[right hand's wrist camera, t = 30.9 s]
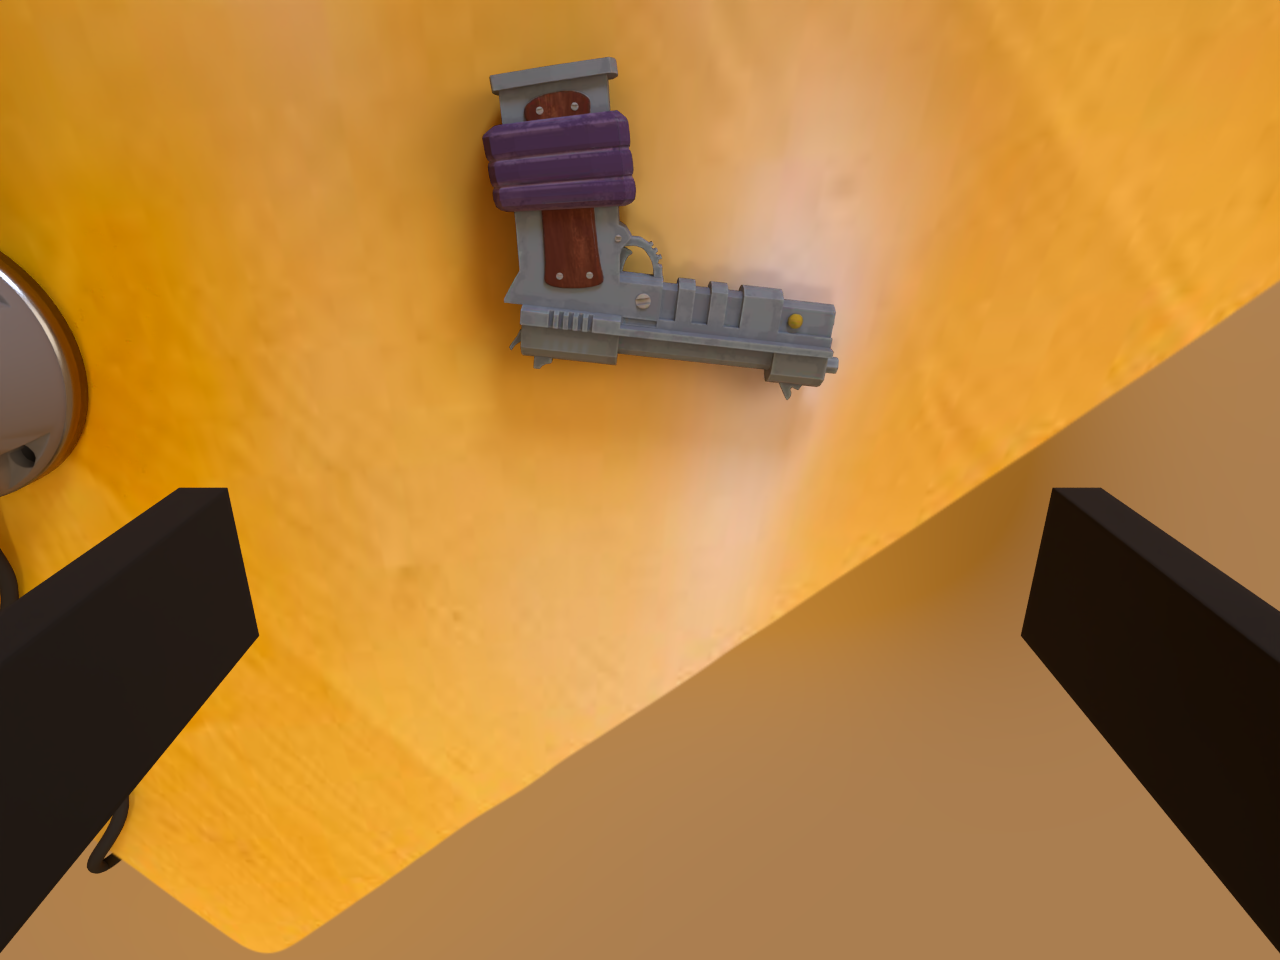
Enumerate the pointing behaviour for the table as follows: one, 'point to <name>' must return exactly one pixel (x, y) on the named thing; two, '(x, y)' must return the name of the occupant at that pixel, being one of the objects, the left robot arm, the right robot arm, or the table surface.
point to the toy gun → (619, 246)
